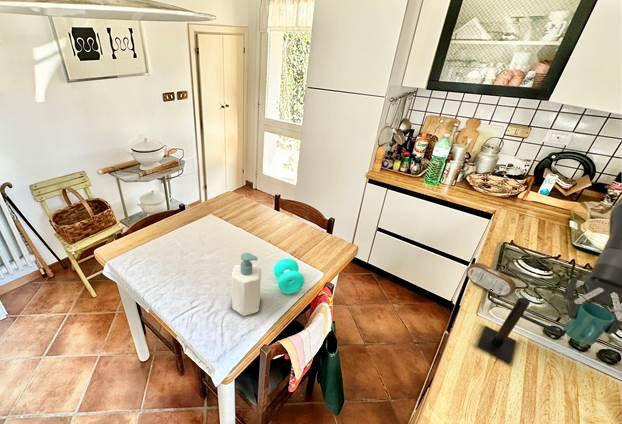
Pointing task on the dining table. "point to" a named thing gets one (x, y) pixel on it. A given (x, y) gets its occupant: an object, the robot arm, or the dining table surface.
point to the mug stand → (500, 341)
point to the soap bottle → (246, 286)
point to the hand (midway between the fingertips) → (589, 325)
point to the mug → (588, 324)
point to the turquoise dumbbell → (288, 276)
